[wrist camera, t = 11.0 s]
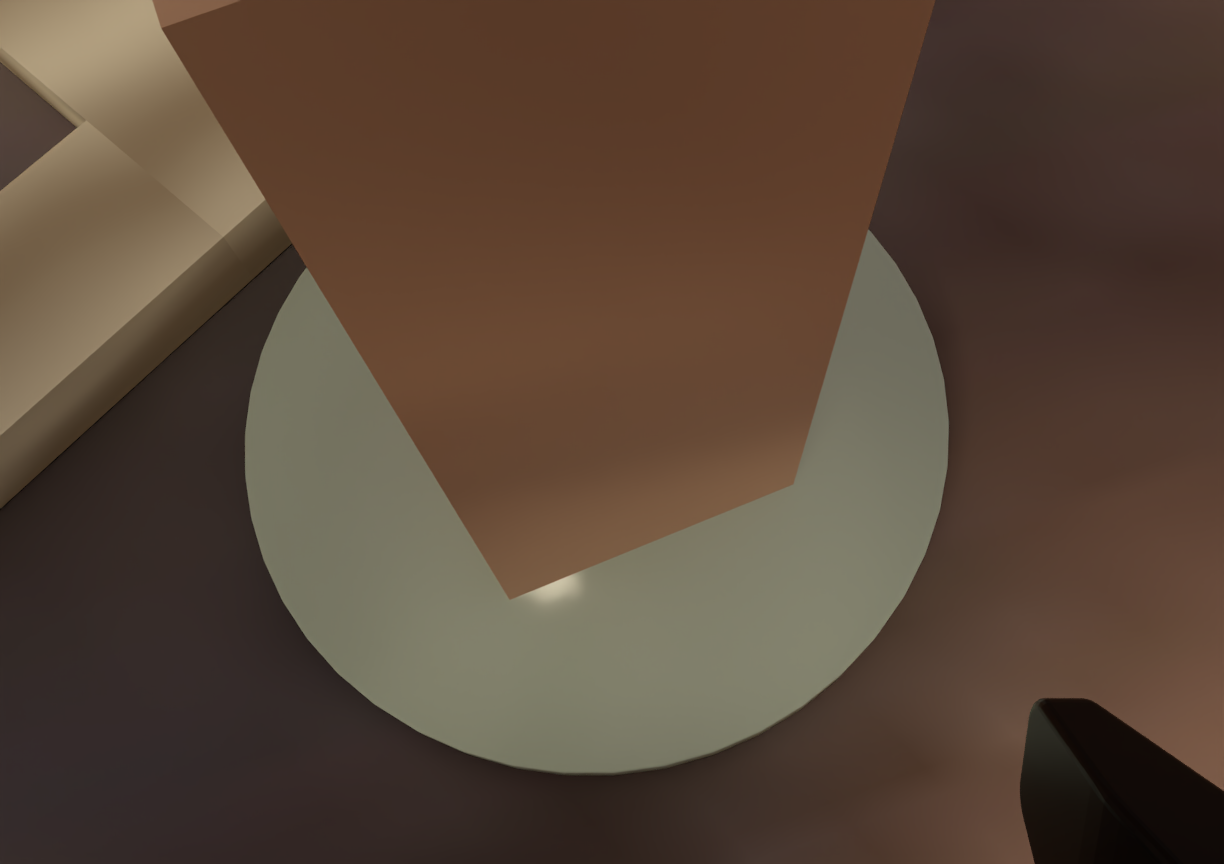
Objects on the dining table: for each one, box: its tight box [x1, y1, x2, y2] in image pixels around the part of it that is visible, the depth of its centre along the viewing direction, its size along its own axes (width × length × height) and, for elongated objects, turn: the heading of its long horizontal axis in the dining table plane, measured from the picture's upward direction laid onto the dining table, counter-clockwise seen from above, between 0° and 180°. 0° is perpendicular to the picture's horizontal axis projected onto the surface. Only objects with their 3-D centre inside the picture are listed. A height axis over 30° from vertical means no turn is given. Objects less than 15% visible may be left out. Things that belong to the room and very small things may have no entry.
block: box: [152, 0, 935, 600], centre depth 13 cm, size 5×5×13 cm
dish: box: [245, 229, 949, 776], centre depth 19 cm, size 12×12×1 cm
